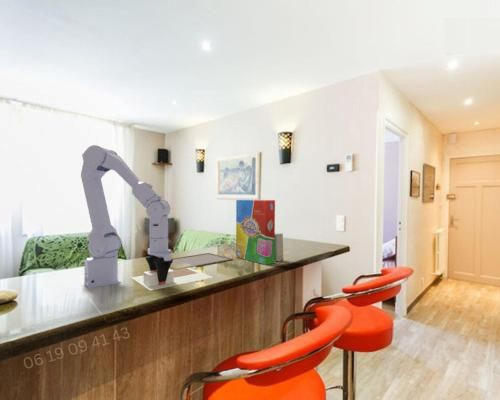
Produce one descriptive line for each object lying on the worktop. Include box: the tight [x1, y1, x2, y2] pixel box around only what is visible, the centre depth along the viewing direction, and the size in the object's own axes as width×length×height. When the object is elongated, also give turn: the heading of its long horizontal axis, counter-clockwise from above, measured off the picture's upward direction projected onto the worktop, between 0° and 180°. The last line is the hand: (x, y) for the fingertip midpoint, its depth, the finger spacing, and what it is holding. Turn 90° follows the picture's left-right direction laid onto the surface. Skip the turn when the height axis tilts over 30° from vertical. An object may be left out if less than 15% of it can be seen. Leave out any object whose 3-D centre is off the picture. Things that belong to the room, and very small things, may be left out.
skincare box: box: [275, 232, 284, 262], centre depth 126 cm, size 6×4×12 cm
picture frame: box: [169, 252, 234, 270], centre depth 124 cm, size 19×1×28 cm
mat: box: [130, 267, 214, 291], centre depth 97 cm, size 22×18×1 cm
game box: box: [235, 199, 276, 266], centre depth 126 cm, size 21×6×27 cm, turn 41°
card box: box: [143, 268, 174, 287], centre depth 91 cm, size 8×5×4 cm, turn 130°
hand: (158, 279), depth 91 cm, fingers closed on card box, 5 cm apart
